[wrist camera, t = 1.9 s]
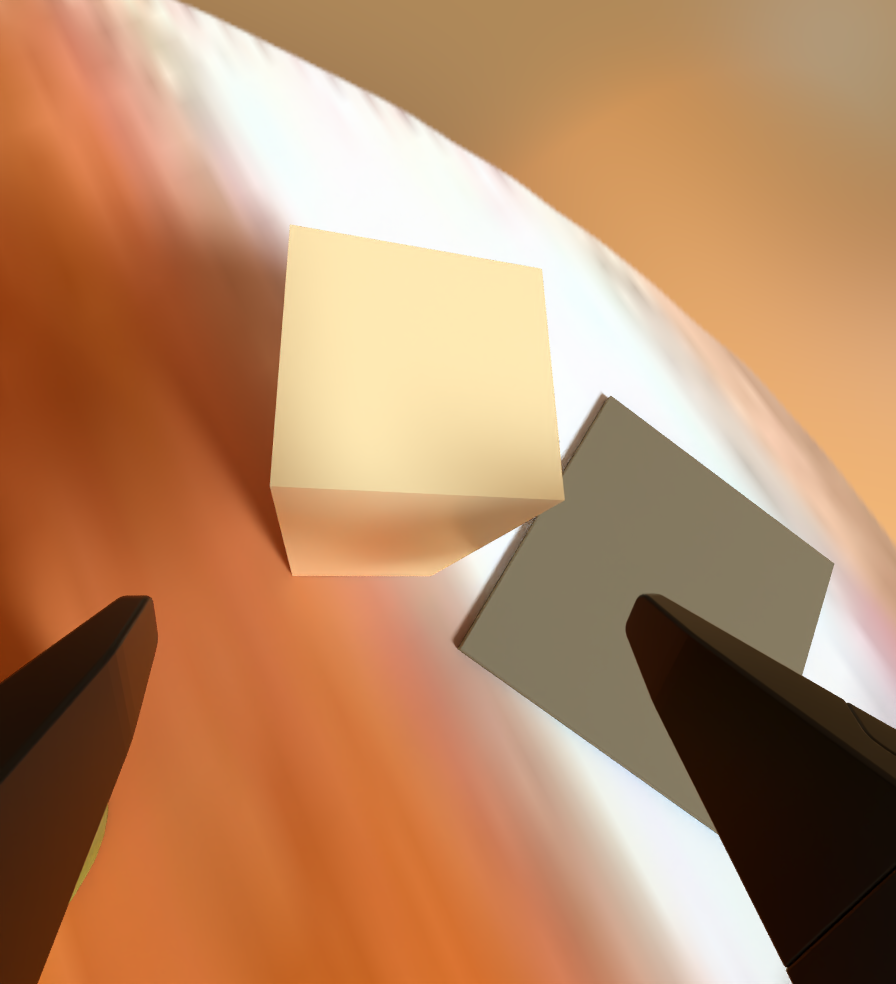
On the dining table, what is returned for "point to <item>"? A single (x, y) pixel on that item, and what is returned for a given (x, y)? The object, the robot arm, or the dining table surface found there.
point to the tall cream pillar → (408, 406)
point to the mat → (640, 590)
